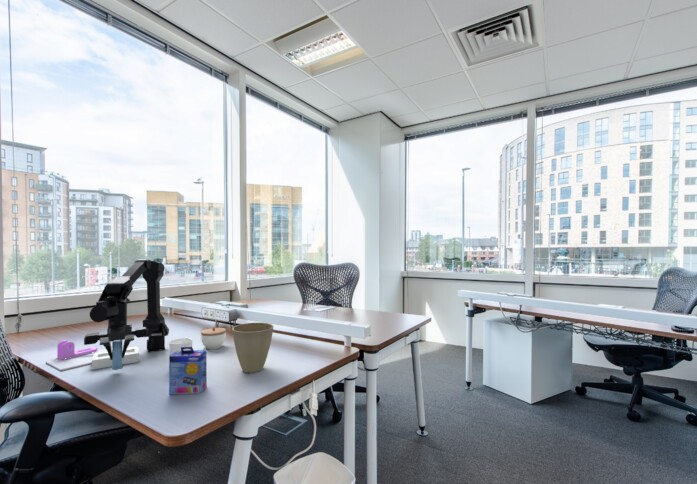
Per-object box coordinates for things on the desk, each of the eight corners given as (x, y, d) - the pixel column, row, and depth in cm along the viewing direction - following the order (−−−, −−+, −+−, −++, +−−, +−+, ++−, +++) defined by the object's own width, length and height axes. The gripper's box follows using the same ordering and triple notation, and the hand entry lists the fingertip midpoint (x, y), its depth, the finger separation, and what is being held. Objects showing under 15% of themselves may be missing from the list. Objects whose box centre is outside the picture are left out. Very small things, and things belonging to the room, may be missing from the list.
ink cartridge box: (167, 395, 99) (168, 348, 100) (175, 388, 105) (176, 343, 105) (200, 394, 100) (200, 347, 101) (207, 386, 106) (207, 342, 106)
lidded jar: (227, 343, 155) (227, 323, 155) (224, 350, 144) (224, 329, 145) (203, 344, 153) (204, 325, 153) (198, 351, 142) (198, 330, 142)
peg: (122, 366, 120) (122, 339, 120) (122, 368, 118) (122, 341, 118) (112, 368, 118) (112, 340, 119) (111, 370, 116) (112, 342, 116)
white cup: (196, 364, 126) (196, 339, 126) (180, 371, 119) (180, 344, 119) (181, 362, 129) (181, 337, 129) (164, 369, 121) (164, 342, 121)
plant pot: (235, 380, 111) (235, 333, 111) (229, 366, 124) (229, 325, 124) (278, 372, 117) (278, 328, 118) (268, 360, 131) (268, 320, 131)
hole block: (138, 354, 139) (138, 346, 139) (139, 361, 130) (139, 352, 130) (94, 361, 130) (94, 352, 130) (91, 369, 121) (91, 360, 121)
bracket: (63, 360, 133) (63, 343, 133) (57, 358, 135) (57, 341, 135) (99, 351, 144) (99, 335, 144) (93, 349, 147) (93, 334, 147)
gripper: (82, 323, 107) (81, 371, 106) (148, 316, 117) (148, 359, 117) (86, 317, 116) (85, 361, 115) (147, 311, 126) (146, 351, 126)
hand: (117, 358), depth 118 cm, fingers closed on peg, 3 cm apart
